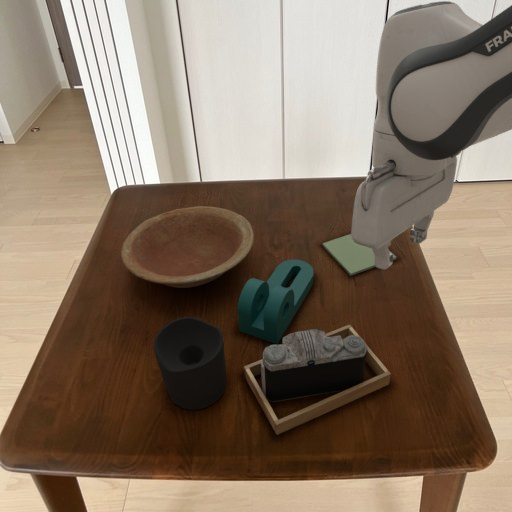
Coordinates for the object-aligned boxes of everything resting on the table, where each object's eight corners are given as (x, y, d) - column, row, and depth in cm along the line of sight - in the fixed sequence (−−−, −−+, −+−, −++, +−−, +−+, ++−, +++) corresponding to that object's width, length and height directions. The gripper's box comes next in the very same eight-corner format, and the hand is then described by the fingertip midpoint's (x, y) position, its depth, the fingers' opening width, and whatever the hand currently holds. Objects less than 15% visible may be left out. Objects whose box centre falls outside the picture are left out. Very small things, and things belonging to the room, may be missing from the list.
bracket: (277, 344, 80) (276, 309, 75) (239, 331, 83) (236, 296, 78) (318, 274, 93) (320, 240, 88) (284, 265, 95) (284, 231, 90)
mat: (396, 259, 95) (396, 256, 94) (350, 276, 92) (350, 273, 92) (365, 231, 102) (365, 228, 102) (322, 245, 99) (322, 243, 99)
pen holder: (219, 353, 80) (212, 308, 73) (237, 401, 73) (231, 356, 66) (160, 371, 77) (148, 326, 71) (172, 422, 71) (160, 378, 64)
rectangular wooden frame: (389, 384, 74) (391, 373, 72) (276, 435, 68) (276, 425, 67) (348, 334, 81) (349, 324, 80) (244, 376, 76) (243, 366, 74)
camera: (351, 351, 78) (357, 307, 72) (365, 388, 73) (373, 344, 67) (257, 366, 77) (254, 322, 70) (264, 405, 72) (262, 361, 65)
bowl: (257, 230, 104) (255, 198, 99) (253, 316, 85) (250, 281, 80) (143, 233, 105) (135, 200, 100) (115, 317, 87) (104, 282, 82)
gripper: (389, 179, 53) (382, 292, 59) (468, 137, 66) (456, 233, 73) (339, 169, 57) (337, 276, 63) (423, 131, 70) (415, 223, 77)
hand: (401, 253), depth 68 cm, fingers open, 8 cm apart
